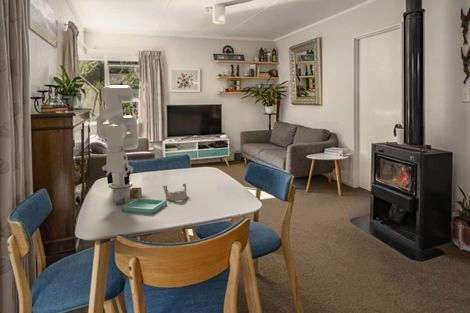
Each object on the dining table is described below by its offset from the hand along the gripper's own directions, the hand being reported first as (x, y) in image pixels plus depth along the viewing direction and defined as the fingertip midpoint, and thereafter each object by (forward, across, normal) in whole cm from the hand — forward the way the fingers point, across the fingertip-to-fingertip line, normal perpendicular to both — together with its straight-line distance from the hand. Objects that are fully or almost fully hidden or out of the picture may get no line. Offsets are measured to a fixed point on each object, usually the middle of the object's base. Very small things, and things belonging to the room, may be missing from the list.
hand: (118, 183), depth 163 cm
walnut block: (+11, -2, -12) cm, 16 cm away
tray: (+11, -16, +2) cm, 19 cm away
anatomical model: (+11, -24, -16) cm, 31 cm away
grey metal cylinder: (+11, 0, -1) cm, 11 cm away
